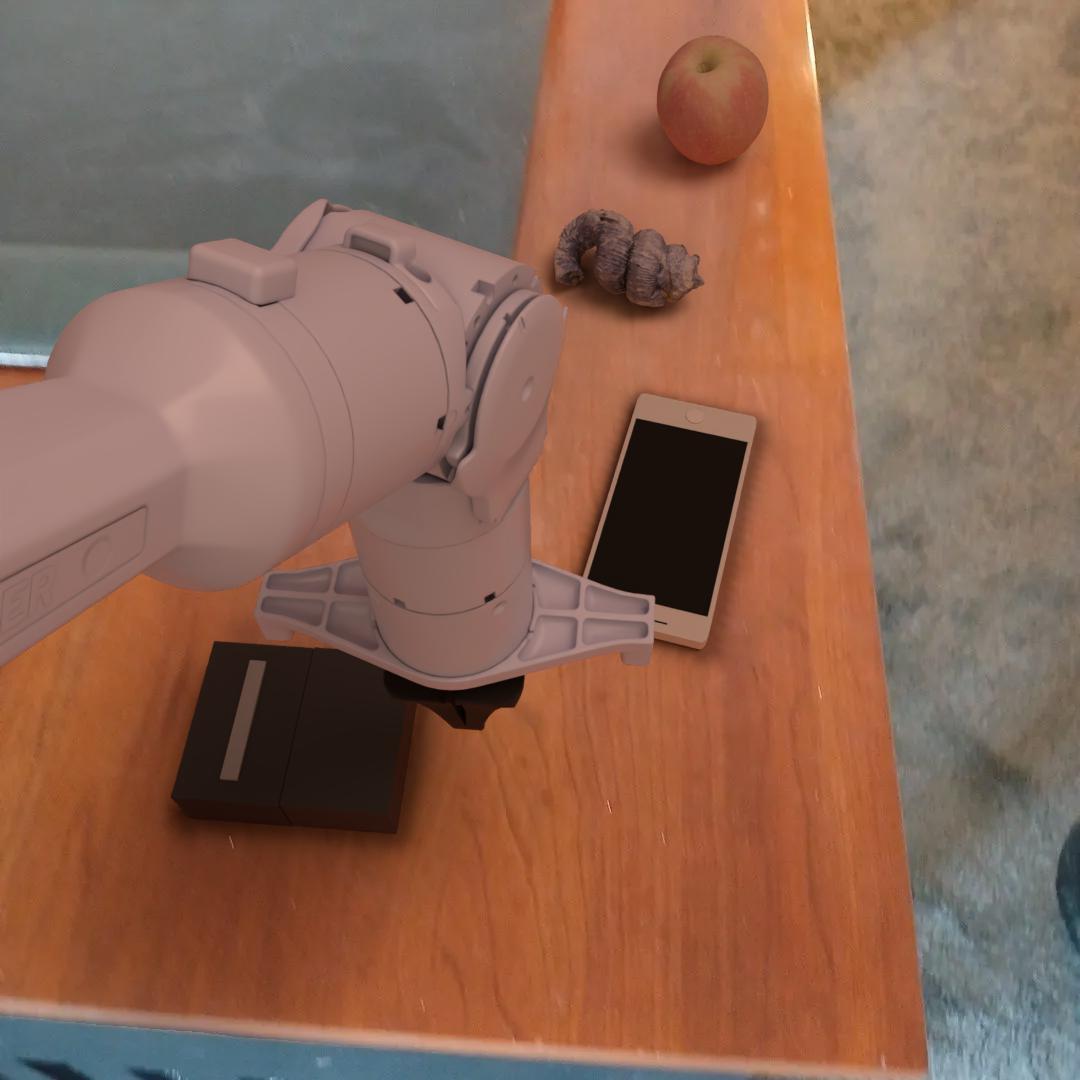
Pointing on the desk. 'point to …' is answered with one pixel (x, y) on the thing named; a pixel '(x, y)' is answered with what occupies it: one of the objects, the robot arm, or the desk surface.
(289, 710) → the pad
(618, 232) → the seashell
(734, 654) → the desk surface
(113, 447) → the robot arm
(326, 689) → the pad
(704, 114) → the apple
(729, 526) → the smartphone
